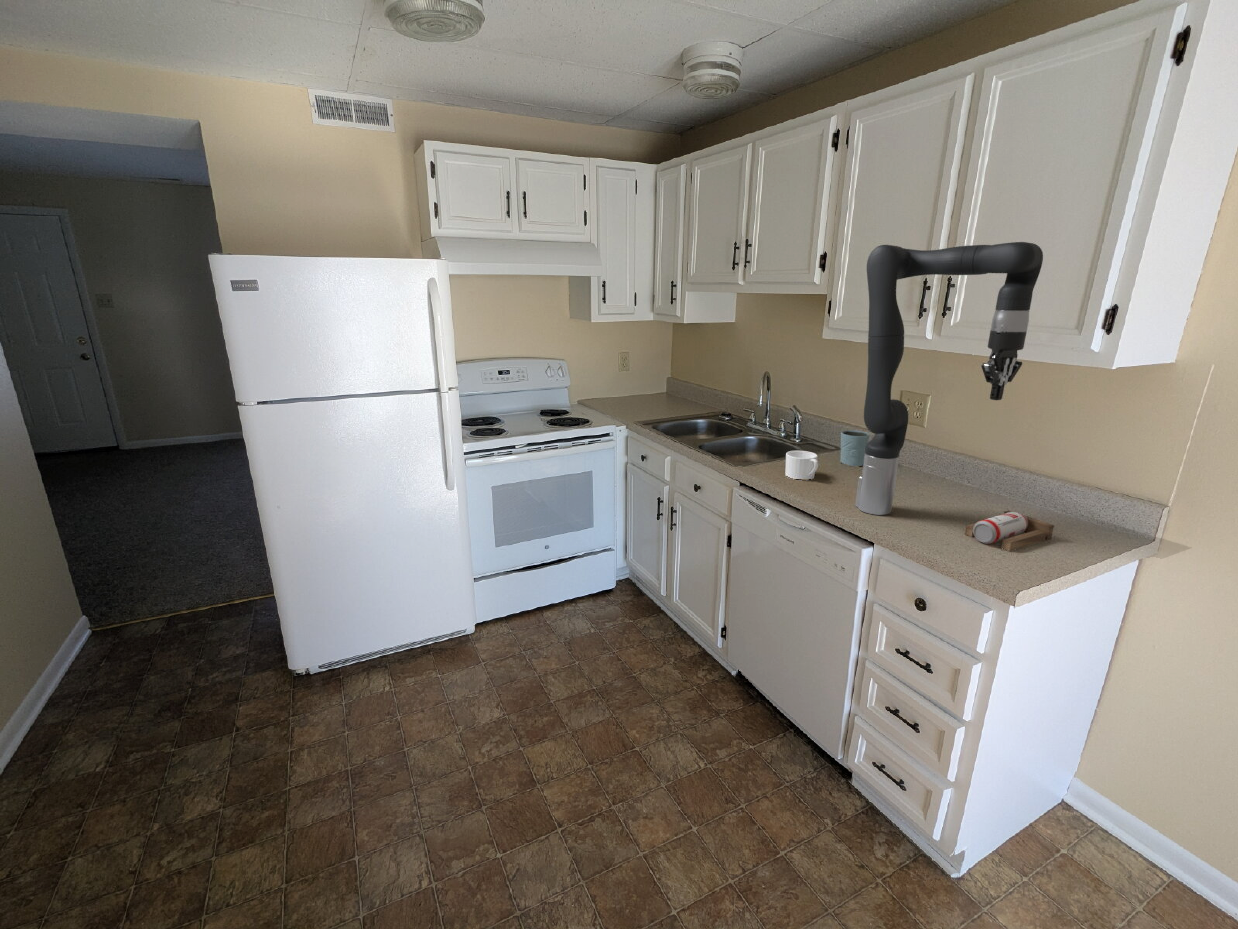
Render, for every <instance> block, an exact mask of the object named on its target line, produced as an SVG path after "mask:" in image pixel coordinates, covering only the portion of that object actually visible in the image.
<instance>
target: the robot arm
mask: <svg viewBox="0 0 1238 929" xmlns="http://www.w3.org/2000/svg"><path fill="white" fill-rule="evenodd" d="M1043 260H1044V252H1043V250H1042V248H1041V246H1039V245H1038V244H1036V243H1034V242H1033V243H1032V242H1027V241H1018V242H1017V241H1013V242H1005V243H998V244H997V243H996V244H975V245H973V244H972V245H961V246H960V245H959V246H952V247H947V248H940V249H932V250H931V249H930V250H927V249H926V250H924V249H923V250H920V249H911V248H903V247H902V246H898V245H892V244H880V245H878V246H876V247H875V248H874V249H873V250H872V251H871V252H870V254H869V255H868V257H867V262H866V277H867V290H868V332H867V333H868V335H867V379H866V380H867V382H866V392H865V400H864V407H863V422H864V425H865V427H866V428H867V430H868V432H871V433H872V434H874V436H873V437H872V438H871V440H869V441H868V443H867V444H866V448H865V455H864V464H863V466H862V474H861V475H860V476H859V477H858V483H857V489H856V497H855V507H856V508H858V510H860V511H861V512H863V513H866V514H871V515H877V516H883V515H885V516H886V515H890V514H891V513H892V507H893V500H894V494H895V487H896V480H897V474H898V468H899V467H898V465H899V458H900V453H901V451H902V449H903V447H904V444H905V440H906V436H907V435H906V434H907V430H908V426H909V410H908V408H907V405H906V404H905V403H904V402H903V401H901V400H898V399H895V398H893V399H892V384H893V381H894V378H895V375H896V372H897V370H898V369H899V366H900V363H901V362H902V359H903V355H904V353H905V352H904V351H905V326H904V321H903V318H902V315H901V312H900V308H899V305H898V300H897V285H898V284H897V282H898V280H902V279H907V278H912V277H919V276H932V275H935V276H936V275H937V276H938V275H940V276H943V275H945V276H973V275H974V276H977V275H978V276H980V275H987V274H1006V277H1005V281H1004V284H1003V285H1002V286H1001V287H1000V288H999V290H998V294H997V299H996V304H995V310H994V314H993V317H992V320H991V325H990V326H991V327H990V331H989V335H988V341H987V348H988V349H990V350H991V352H990V355H989V357H988V359H989V360H988V361H986V362H982V363H981V369H982V370H981V371H982V373H983V375H984V378H985V381H986V383H990V385H991V389H990V394H989V399H990V400H993V401H1001V400H1002V399H1003V397H1004V396H1003V395H1004V391H1005V390H1004V389H1005V387H1006V386H1007V384H1008V383H1011V382H1012V381H1013V380H1014V378H1015V377H1016V375H1017V373H1018V372H1019V370H1020V369H1021V367H1022V365H1023V362H1022V361H1019V360H1018V355H1019V354H1018V351H1021V350H1023V349H1024V348H1025V344H1026V343H1025V342H1026V337H1027V332H1028V326H1029V322H1030V310H1031V304H1032V299H1033V293H1034V288H1035V286H1036V284H1037V281H1038V278H1039V275H1040V272H1041V269H1042V266H1043Z"/></svg>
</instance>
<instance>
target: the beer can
mask: <svg viewBox="0 0 1238 929" xmlns="http://www.w3.org/2000/svg"><path fill="white" fill-rule="evenodd" d="M1025 516H1026V515H1025ZM1025 516H1024V514H1023V513H1020V512H1016V511H1012V512H1009V513H1005V514H1004V513H1002V514H999V515H995V516H992V517H989V518H985V519H982V520H979V521H977V522H976V523H974V524H975V525H974V528H973V533H974V538H976V540H977V541H978V542H980V543H981V542H982V543H981V544H985V545H989V544H994V543H997V542H1001V541H1003V539H1007V538H1010V537H1014V536H1017V535H1021V534H1024V531H1025V529H1026V528H1027V527H1028V520H1027V518H1026V517H1025Z"/></svg>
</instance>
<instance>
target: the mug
mask: <svg viewBox="0 0 1238 929" xmlns="http://www.w3.org/2000/svg"><path fill="white" fill-rule="evenodd" d="M818 468H819V461H818V455H817V453H815V452H811V451H806V450H790V451H787V452H786V453H785V471H784V472H785V473H784V475H785V477H786V476H788V477H790V478H793V479H792V480H794V479H811V480H813V479H815V476H816V475H815V474H816V471H817V470H818ZM788 477H787V478H788ZM790 478H789V479H790ZM812 478H813V479H812Z"/></svg>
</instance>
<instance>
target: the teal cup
mask: <svg viewBox="0 0 1238 929" xmlns="http://www.w3.org/2000/svg"><path fill="white" fill-rule="evenodd" d="M870 436H871V435H870V433H869V432H866V431H861V430H842V431H841V432H840V462H842V463H844V464H847V465H851V466H862V465H863V464H864V455H865V448H866V444H867V443H868V442H869V441H870ZM862 467H863V466H862Z"/></svg>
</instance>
